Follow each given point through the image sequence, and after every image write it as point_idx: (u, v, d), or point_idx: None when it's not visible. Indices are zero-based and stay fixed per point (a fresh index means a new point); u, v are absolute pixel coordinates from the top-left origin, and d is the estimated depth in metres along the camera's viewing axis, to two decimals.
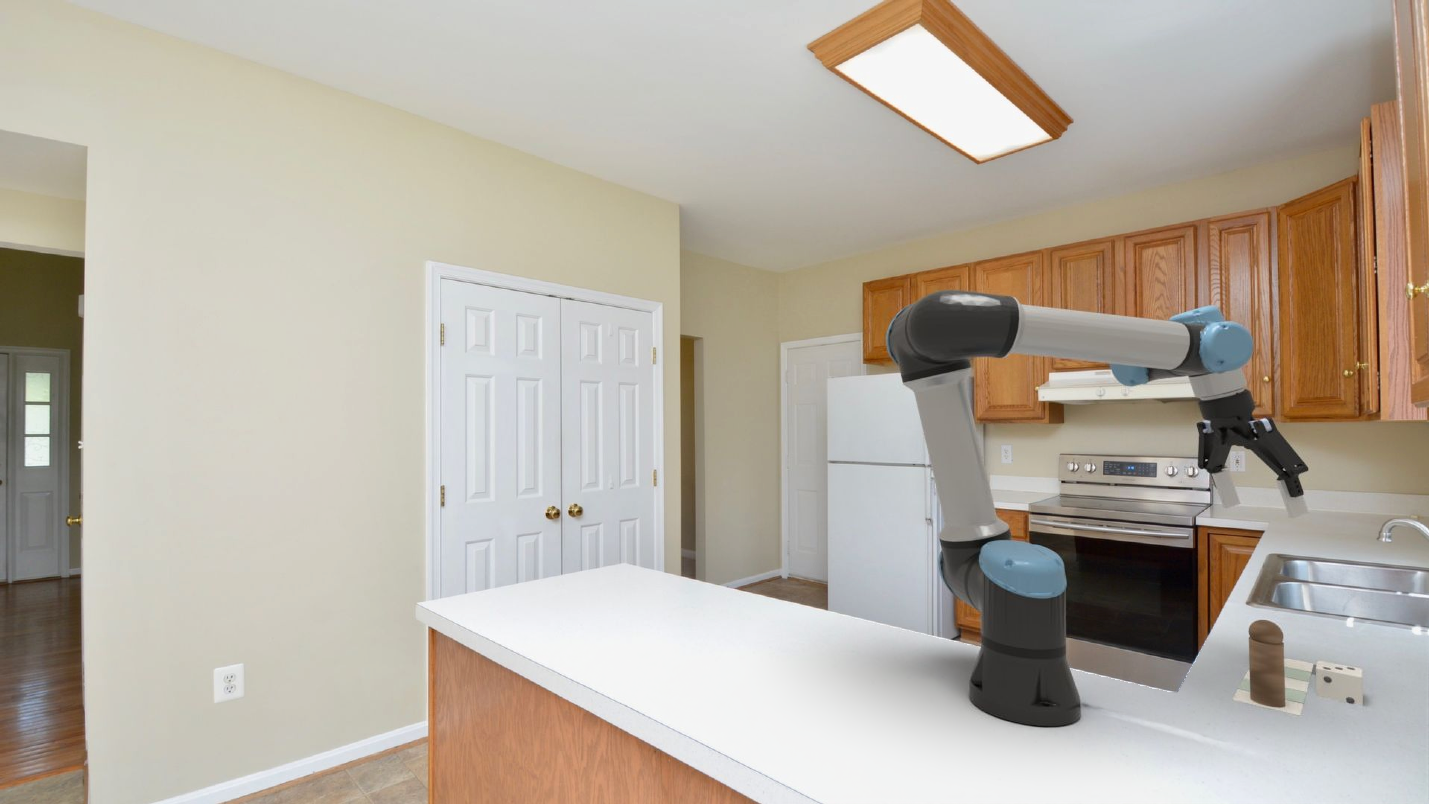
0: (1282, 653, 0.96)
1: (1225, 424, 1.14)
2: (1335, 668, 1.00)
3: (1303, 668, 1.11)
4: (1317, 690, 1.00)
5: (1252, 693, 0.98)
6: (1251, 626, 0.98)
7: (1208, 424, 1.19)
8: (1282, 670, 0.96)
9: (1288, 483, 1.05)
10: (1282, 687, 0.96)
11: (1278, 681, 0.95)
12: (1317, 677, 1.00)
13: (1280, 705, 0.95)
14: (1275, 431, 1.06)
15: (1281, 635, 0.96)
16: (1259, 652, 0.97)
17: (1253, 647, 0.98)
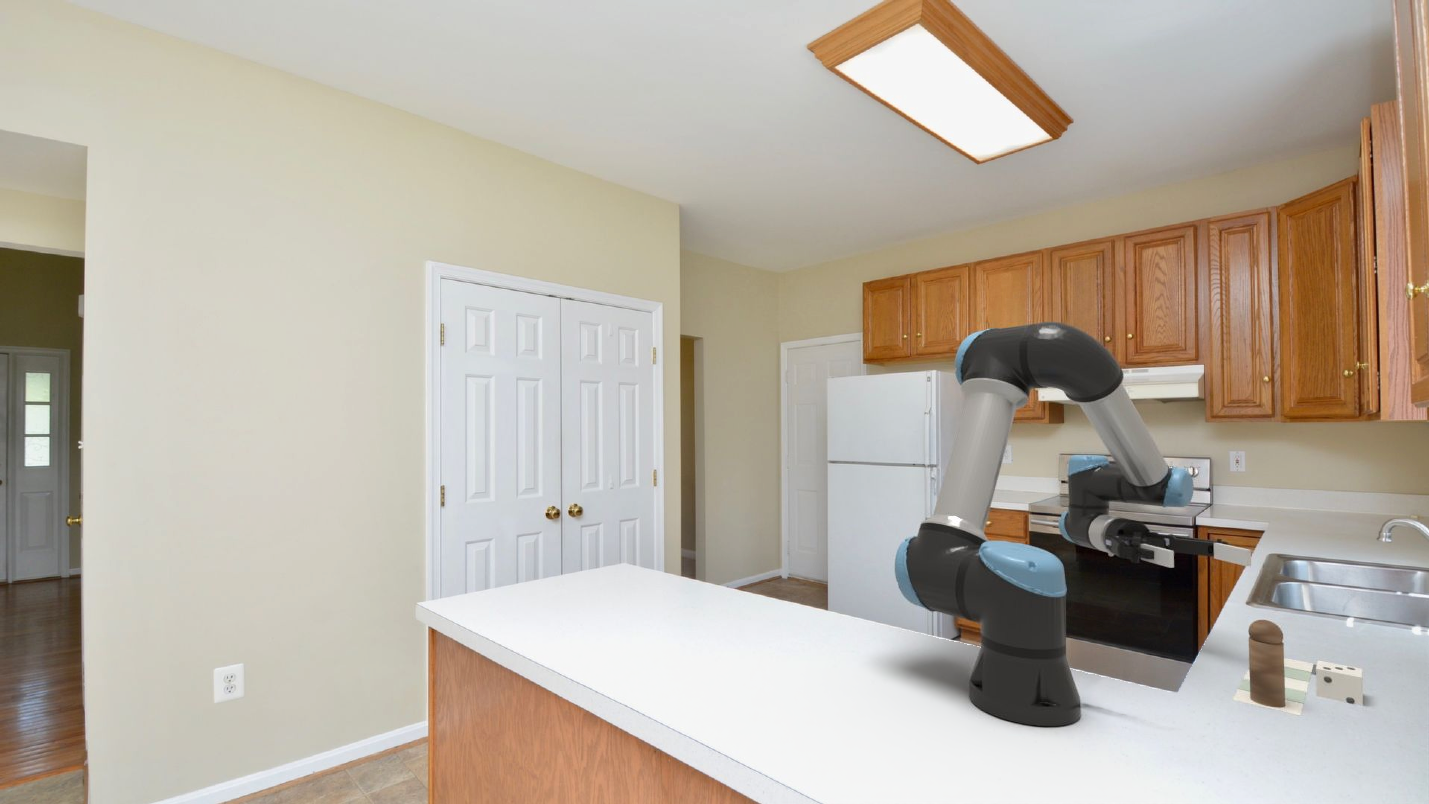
0: (1282, 653, 0.96)
1: None
2: (1335, 668, 1.00)
3: (1303, 668, 1.11)
4: (1317, 690, 1.00)
5: (1252, 693, 0.98)
6: (1251, 626, 0.98)
7: None
8: (1282, 670, 0.96)
9: None
10: (1282, 687, 0.96)
11: (1278, 681, 0.95)
12: (1317, 677, 1.00)
13: (1280, 705, 0.95)
14: None
15: (1281, 635, 0.96)
16: (1259, 652, 0.97)
17: (1253, 647, 0.98)
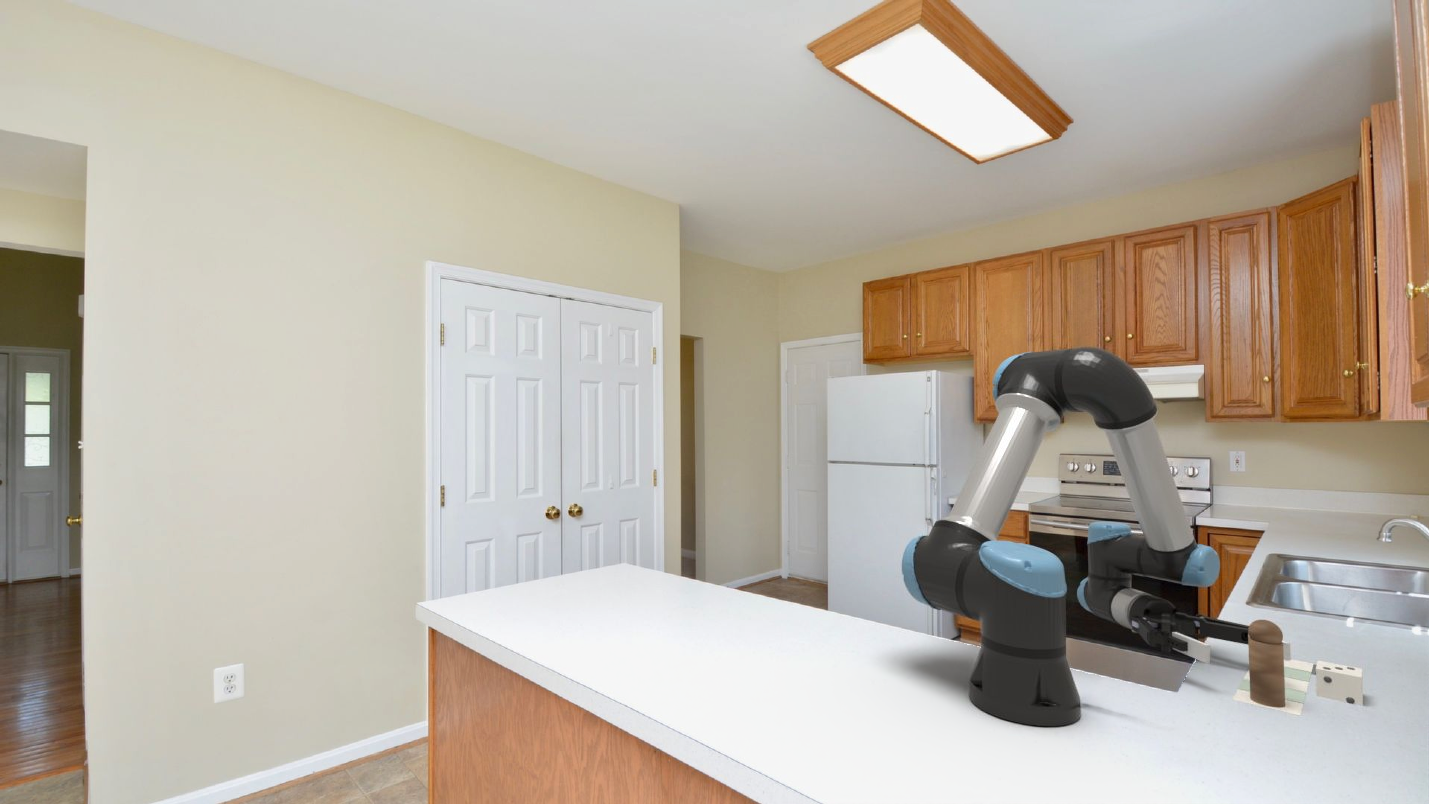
0: (1282, 653, 0.96)
1: None
2: (1335, 668, 1.00)
3: (1303, 668, 1.11)
4: (1317, 690, 1.00)
5: (1252, 693, 0.98)
6: (1250, 626, 0.98)
7: None
8: (1282, 670, 0.96)
9: None
10: (1282, 686, 0.96)
11: (1278, 680, 0.95)
12: (1317, 677, 1.00)
13: (1280, 705, 0.95)
14: None
15: (1280, 635, 0.96)
16: (1259, 652, 0.97)
17: (1253, 647, 0.98)
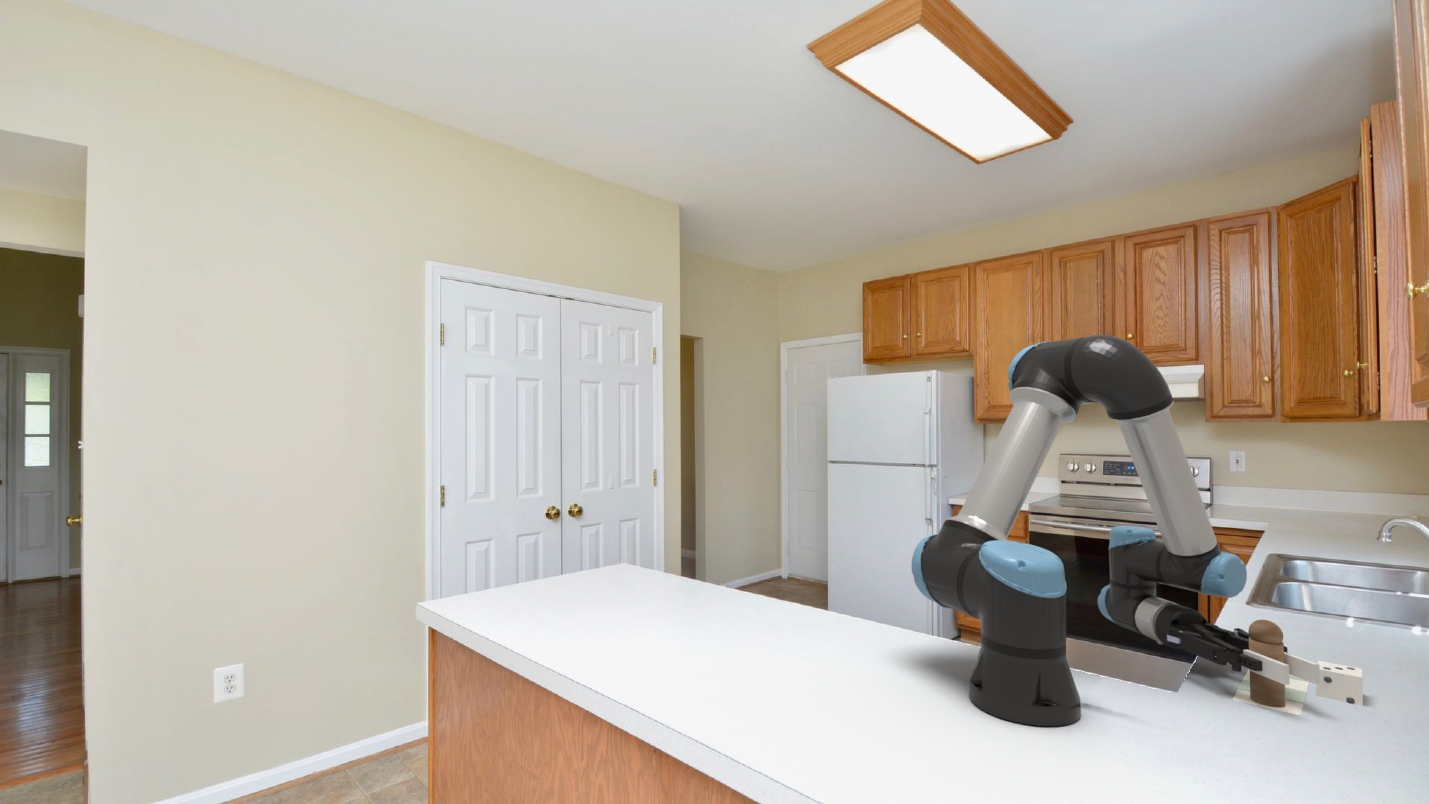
0: (1282, 653, 0.96)
1: None
2: (1335, 668, 1.00)
3: None
4: (1317, 690, 1.00)
5: (1252, 693, 0.98)
6: (1251, 626, 0.98)
7: None
8: None
9: None
10: (1282, 687, 0.96)
11: None
12: None
13: (1280, 705, 0.95)
14: None
15: (1281, 635, 0.96)
16: (1259, 652, 0.97)
17: (1253, 647, 0.98)
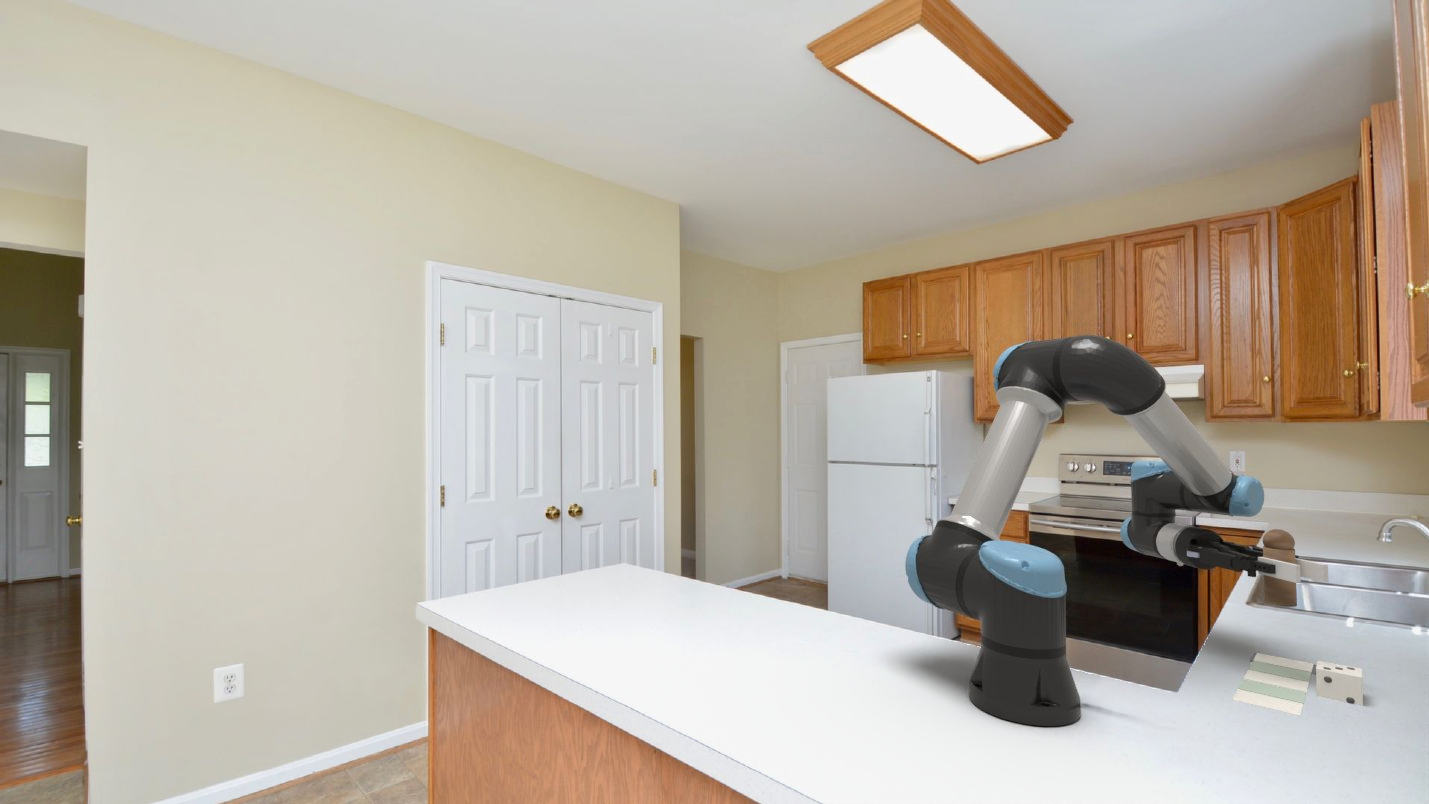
0: (1293, 557, 1.05)
1: None
2: (1335, 668, 1.00)
3: (1303, 668, 1.11)
4: (1317, 690, 1.00)
5: (1266, 595, 1.07)
6: (1265, 535, 1.08)
7: None
8: None
9: None
10: (1293, 588, 1.05)
11: (1290, 582, 1.05)
12: (1317, 677, 1.00)
13: (1292, 604, 1.05)
14: None
15: (1292, 541, 1.05)
16: (1272, 558, 1.06)
17: (1267, 554, 1.07)
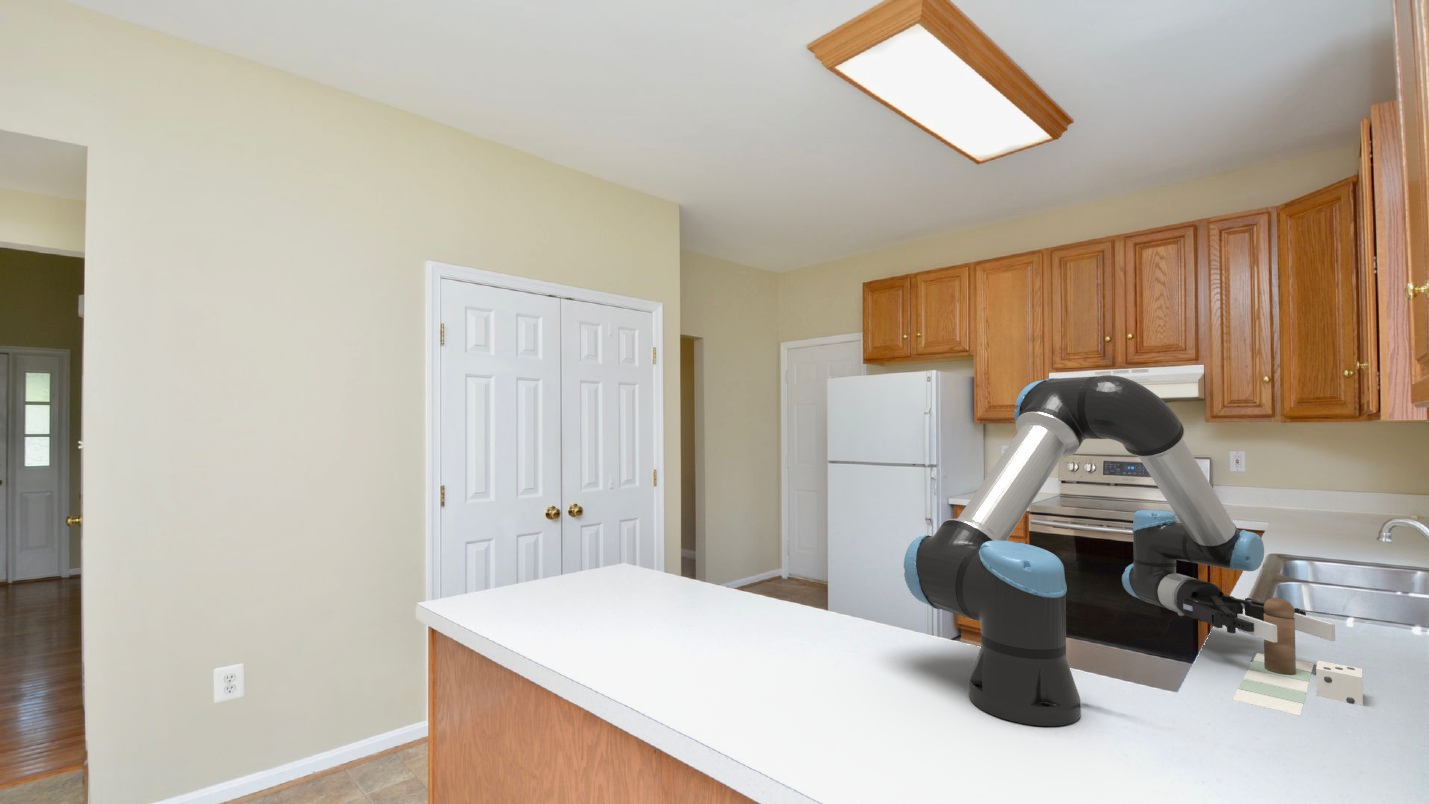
0: (1293, 626, 1.09)
1: None
2: (1335, 668, 1.00)
3: (1303, 668, 1.11)
4: (1317, 690, 1.00)
5: (1266, 662, 1.11)
6: (1266, 603, 1.11)
7: None
8: (1293, 641, 1.09)
9: None
10: (1293, 656, 1.08)
11: (1290, 651, 1.08)
12: (1317, 677, 1.00)
13: (1291, 672, 1.08)
14: None
15: (1293, 610, 1.09)
16: None
17: (1267, 621, 1.10)
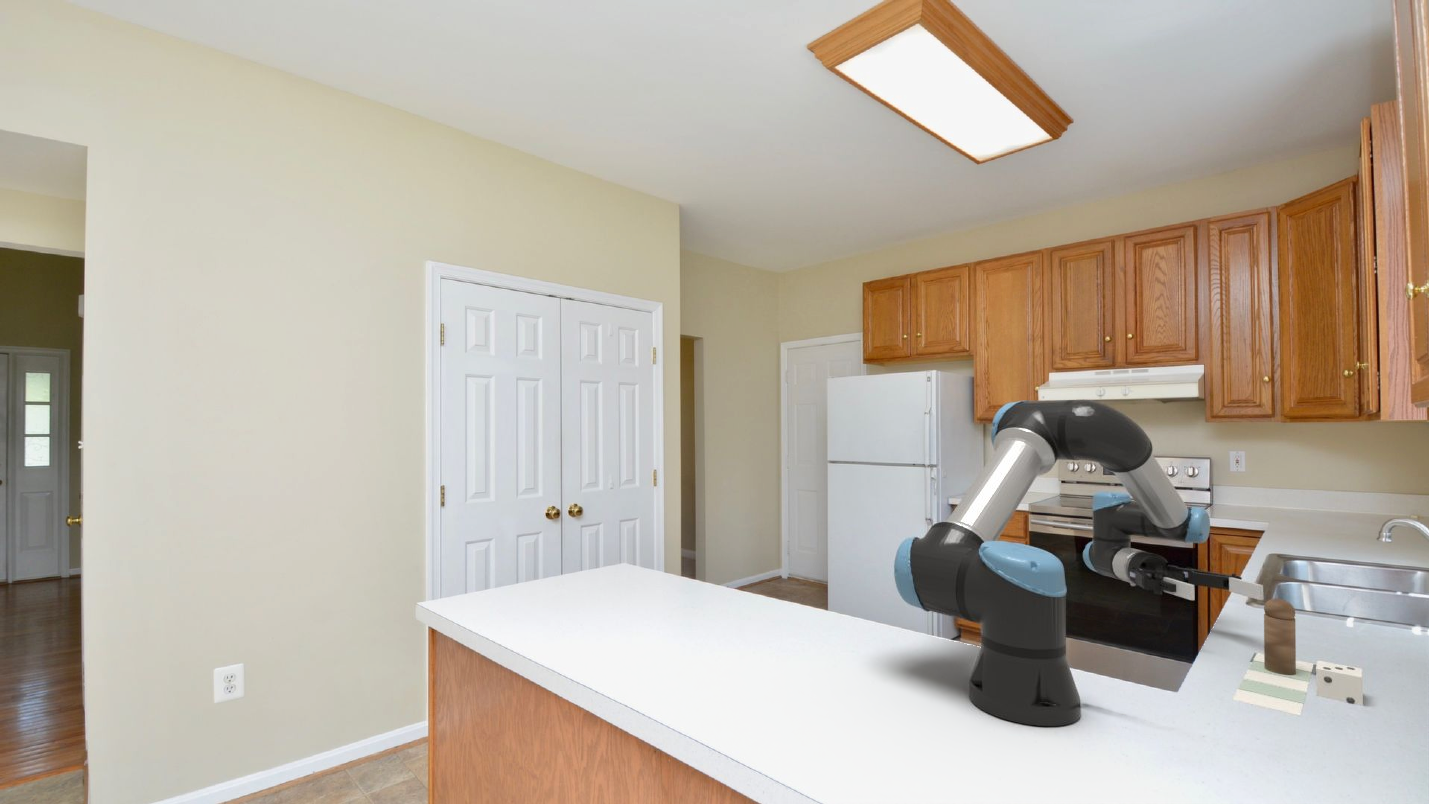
0: (1293, 628, 1.08)
1: None
2: (1335, 668, 1.00)
3: (1303, 668, 1.11)
4: (1317, 690, 1.00)
5: (1266, 662, 1.11)
6: (1266, 604, 1.11)
7: None
8: (1293, 642, 1.08)
9: None
10: (1293, 657, 1.08)
11: (1290, 652, 1.08)
12: (1317, 677, 1.00)
13: (1291, 673, 1.08)
14: None
15: (1293, 612, 1.08)
16: (1273, 627, 1.09)
17: (1267, 622, 1.10)
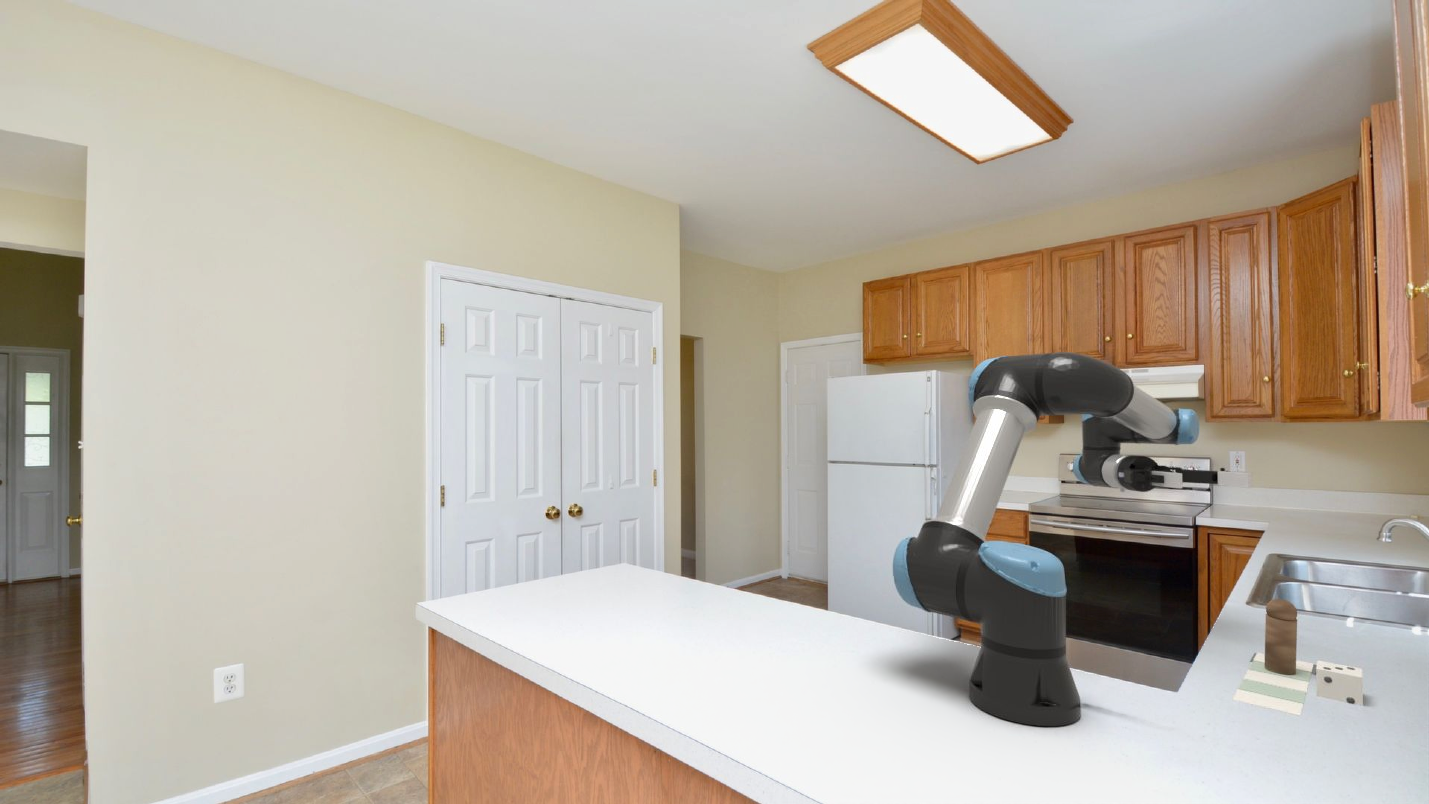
0: (1295, 628, 1.08)
1: None
2: (1335, 668, 1.00)
3: (1303, 668, 1.11)
4: (1317, 690, 1.00)
5: (1265, 661, 1.11)
6: (1268, 604, 1.10)
7: None
8: (1294, 643, 1.08)
9: None
10: (1293, 657, 1.08)
11: (1290, 652, 1.08)
12: (1317, 677, 1.00)
13: (1290, 673, 1.08)
14: None
15: (1295, 613, 1.08)
16: (1273, 627, 1.09)
17: (1268, 622, 1.10)
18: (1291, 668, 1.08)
